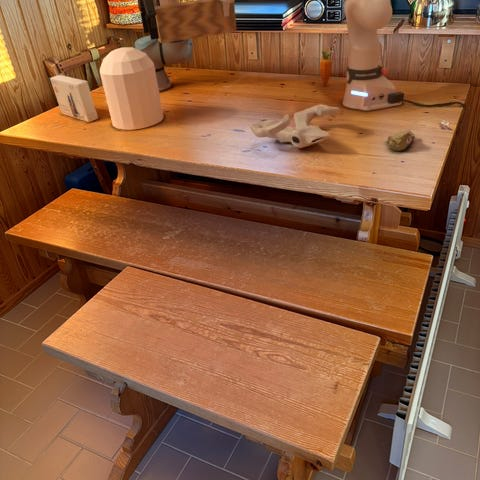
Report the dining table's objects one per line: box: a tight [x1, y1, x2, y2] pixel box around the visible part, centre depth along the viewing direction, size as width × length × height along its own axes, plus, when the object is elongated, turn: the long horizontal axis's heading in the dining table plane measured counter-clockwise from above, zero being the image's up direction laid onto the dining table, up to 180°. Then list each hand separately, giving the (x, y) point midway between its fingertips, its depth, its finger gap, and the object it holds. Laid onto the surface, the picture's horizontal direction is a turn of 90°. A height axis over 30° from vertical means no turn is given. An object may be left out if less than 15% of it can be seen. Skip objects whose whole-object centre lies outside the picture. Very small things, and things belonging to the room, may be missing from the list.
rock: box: [387, 129, 416, 152], centre depth 146 cm, size 11×6×10 cm
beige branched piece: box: [250, 104, 341, 149], centre depth 155 cm, size 28×26×12 cm
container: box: [99, 46, 164, 131], centre depth 180 cm, size 21×21×28 cm
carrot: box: [319, 49, 333, 86], centre depth 201 cm, size 5×5×15 cm
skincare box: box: [49, 74, 99, 123], centre depth 193 cm, size 21×5×16 cm, turn 49°
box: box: [154, 0, 237, 43], centre depth 159 cm, size 27×6×11 cm, turn 109°
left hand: (151, 35), depth 158 cm, fingers open, 13 cm apart
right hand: (223, 14), depth 161 cm, fingers closed on box, 6 cm apart
